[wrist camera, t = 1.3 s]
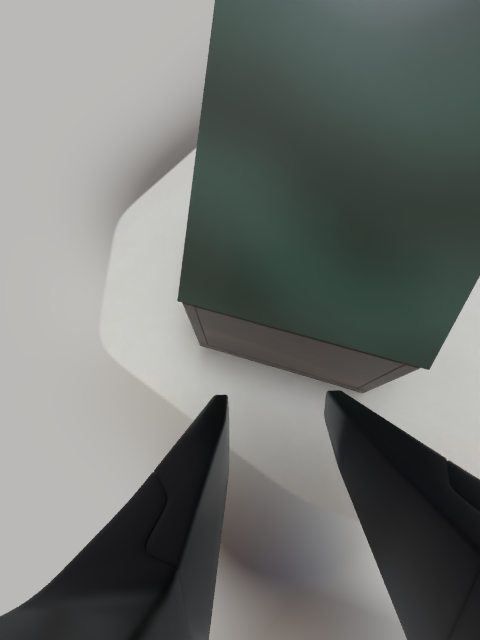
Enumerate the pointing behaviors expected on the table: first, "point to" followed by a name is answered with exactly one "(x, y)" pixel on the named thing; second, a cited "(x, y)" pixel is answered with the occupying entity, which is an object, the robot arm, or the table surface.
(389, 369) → the frame box
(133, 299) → the table surface
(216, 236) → the green box lid
